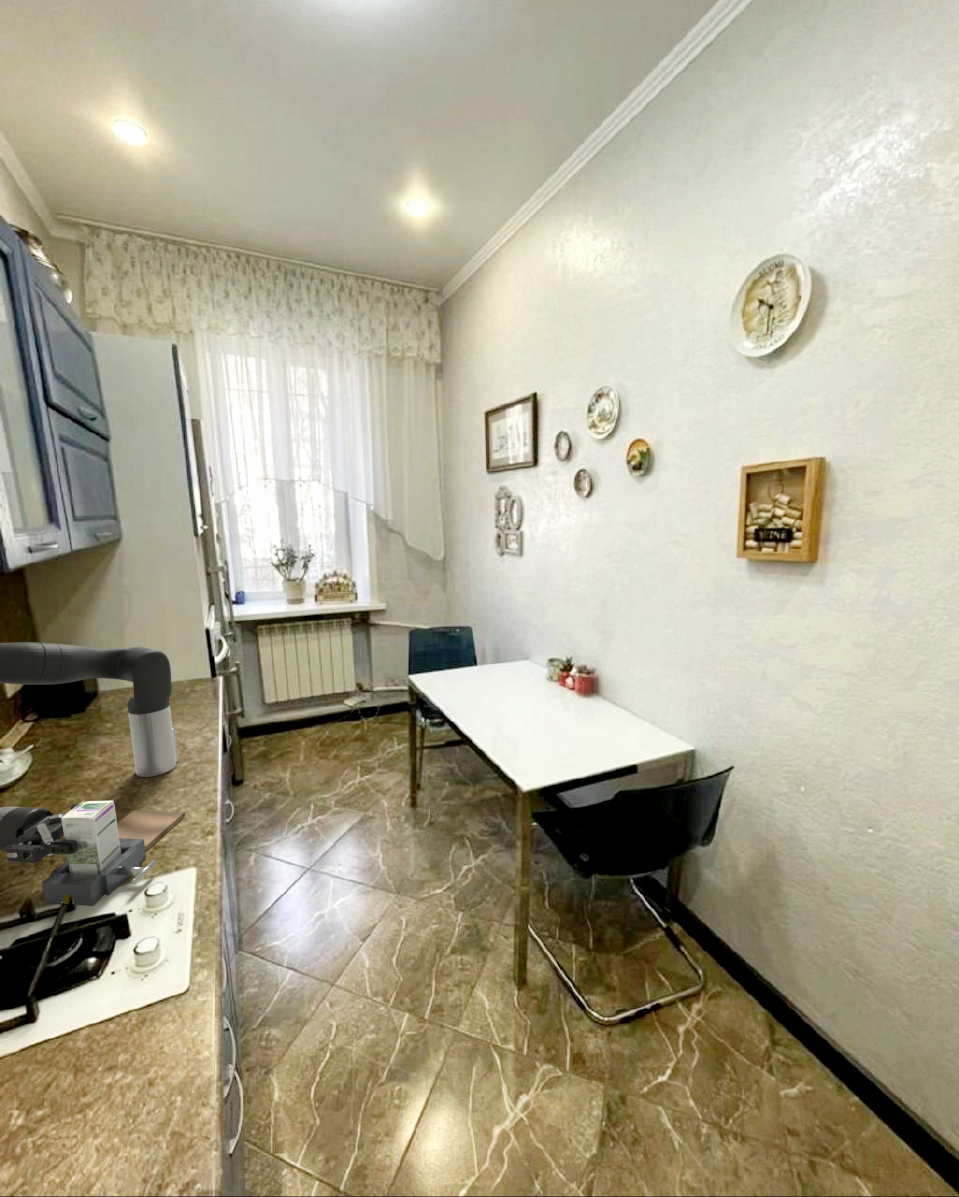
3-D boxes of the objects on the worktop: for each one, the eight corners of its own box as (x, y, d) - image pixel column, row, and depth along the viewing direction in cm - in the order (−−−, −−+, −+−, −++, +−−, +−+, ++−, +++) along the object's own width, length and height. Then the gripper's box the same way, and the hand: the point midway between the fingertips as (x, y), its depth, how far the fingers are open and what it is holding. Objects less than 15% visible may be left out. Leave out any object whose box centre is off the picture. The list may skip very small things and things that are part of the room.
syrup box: (124, 867, 96) (115, 798, 93) (103, 890, 90) (92, 817, 87) (94, 868, 95) (84, 799, 93) (70, 891, 90) (59, 817, 87)
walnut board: (134, 814, 113) (134, 810, 113) (184, 816, 112) (184, 812, 112) (90, 848, 101) (89, 844, 101) (145, 851, 100) (145, 847, 100)
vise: (100, 855, 99) (97, 837, 99) (171, 858, 98) (169, 840, 97) (40, 903, 87) (37, 882, 86) (121, 907, 86) (118, 887, 85)
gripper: (-33, 834, 85) (56, 839, 83) (45, 789, 99) (123, 792, 97) (-26, 874, 86) (62, 879, 85) (51, 824, 100) (127, 827, 99)
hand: (94, 832), depth 91 cm, fingers open, 7 cm apart
